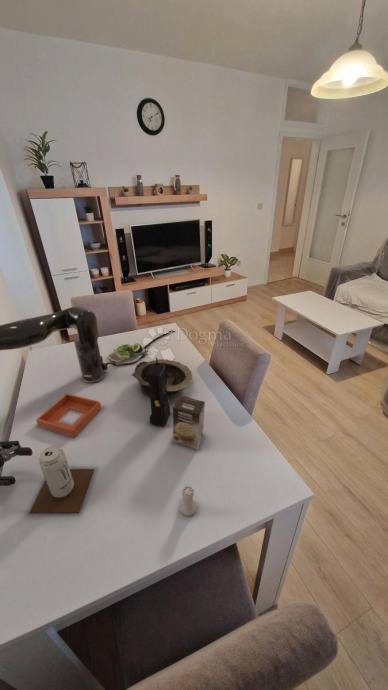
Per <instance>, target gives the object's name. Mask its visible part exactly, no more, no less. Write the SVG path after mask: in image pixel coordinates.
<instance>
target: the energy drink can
mask: <svg viewBox="0 0 388 690" xmlns="http://www.w3.org/2000/svg"><path fill="white" fill-rule="evenodd" d="M38 465H39V468H40V470H41V472H42V474H43V476H44V480H46V482H47V484H48V487H49V489H50V492H51V494H52V495H53V496H54V497H59V498H60V497H64V496H66V495H68V494H69V493H70V492H71V490H72V488H73V486H74V481H73V478H72V475H71V472H70V469H71V468H70V466H69V463H68V460H67V456H66V454H65V451H64V450H63V449H62V448H60V446H58V445H51V446H48V447H46V448H45V449H43V450H42V451H41V452H40V455H39V460H38Z"/></svg>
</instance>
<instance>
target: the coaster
mask: <svg viewBox="0 0 388 690" xmlns="http://www.w3.org/2000/svg"><path fill="white" fill-rule="evenodd" d="M69 469H70V472H71V475H72V478H73V481H74V486H73V488H72V490H71V492H70V493H69V494H68V495H66V496H64V497H60V498H59V497H54V496H53V495H52V494H51V492H50V489H49V487H48V484H47V482H46V479H44V482H43V484H42V486H41V488H40V490H39V492H38V494H37V495H36V498H35V500H34V503H33V505H32V507H31V508H30V511H29V512H28V513H29V514H80V512H81V510H82V507H83V503H84V500H85V498H86V494H87V491H88V488H89V485H90V482H91V480H92V476H93V474H94V471H95V469H94V468H69Z"/></svg>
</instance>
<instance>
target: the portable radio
mask: <svg viewBox="0 0 388 690" xmlns="http://www.w3.org/2000/svg"><path fill="white" fill-rule="evenodd" d="M155 360H156V364H151V366H150V368H149V369H148V371H147V372H146V381H148V382H149V390H150V395H149V400H150V402H149V403H150V410H151V411H150V416H149V424H150V425H153V426H157V427H165V426H166V425H167V423H168V421H169V418H170V416H171V409H170V400H169V399H170V398H168V393H167V387H166V386H167V376H166V367H165V365H163V364H158V362H157V360H159V358H157V357H156V358H155Z"/></svg>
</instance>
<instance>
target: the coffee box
mask: <svg viewBox="0 0 388 690" xmlns="http://www.w3.org/2000/svg"><path fill="white" fill-rule="evenodd" d="M205 403H206V402H205V401H203V400H199V399H195V398H191V397H189V396H185V395H181V394H179V395H178V397H177V398H176V400H175V402H174V405H173V406H172V438H173V439H172V442H173V443H174V444H177V445H180V446H184V447H187V448H190V449H193V450H197V451H198V449H199V447H200V445H201V442H202V439H203V436H204V423H205V419H204V418H205V406H206V405H205Z"/></svg>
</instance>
